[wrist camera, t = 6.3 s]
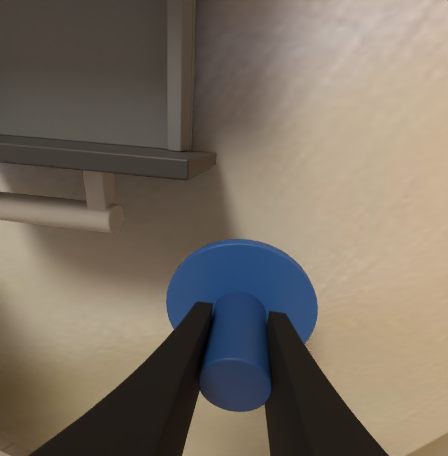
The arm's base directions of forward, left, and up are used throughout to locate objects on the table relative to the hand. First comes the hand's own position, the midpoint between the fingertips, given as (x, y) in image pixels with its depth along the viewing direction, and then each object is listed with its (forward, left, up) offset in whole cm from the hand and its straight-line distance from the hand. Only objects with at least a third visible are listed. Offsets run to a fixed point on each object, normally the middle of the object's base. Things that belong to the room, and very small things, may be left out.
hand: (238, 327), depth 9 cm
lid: (0, 0, -1) cm, 1 cm away
